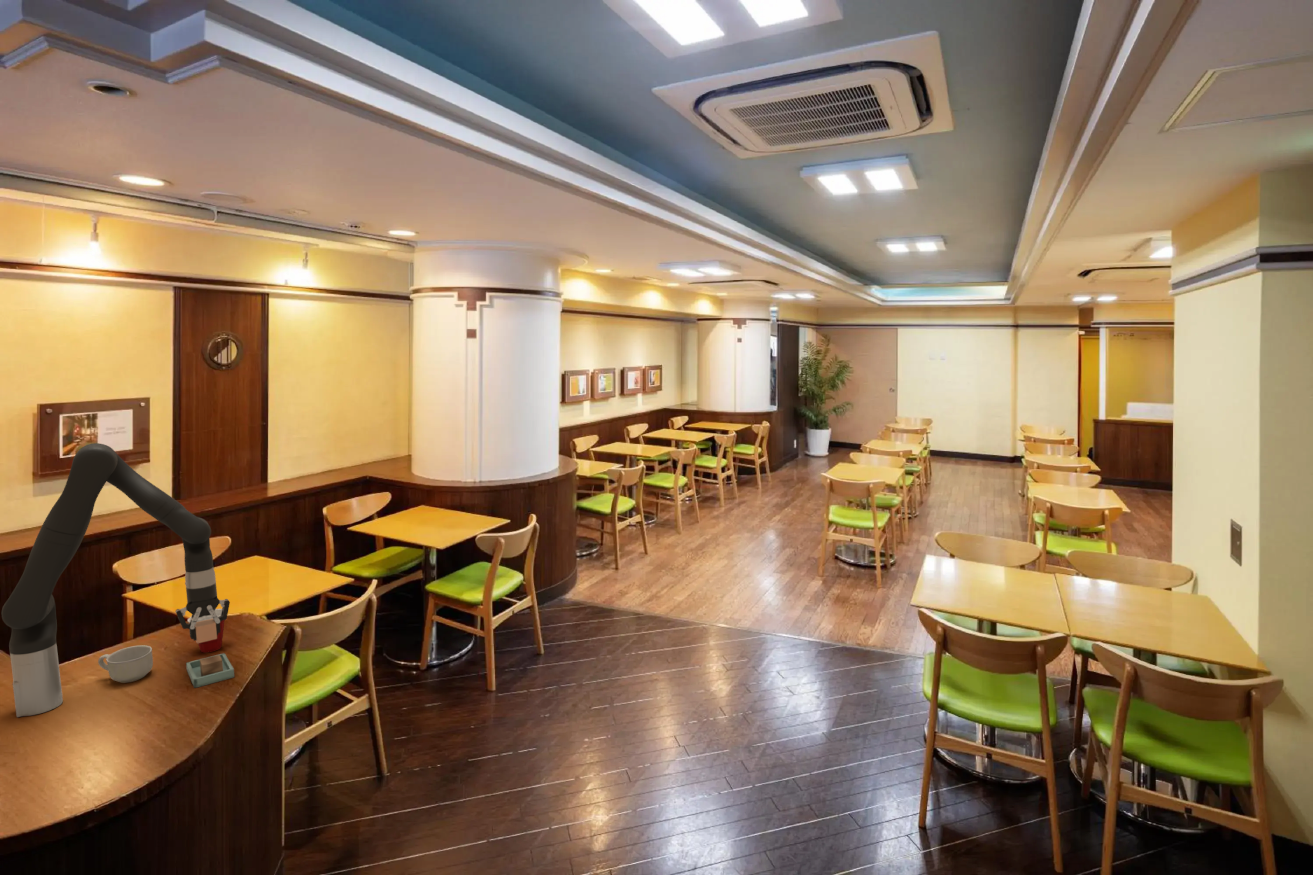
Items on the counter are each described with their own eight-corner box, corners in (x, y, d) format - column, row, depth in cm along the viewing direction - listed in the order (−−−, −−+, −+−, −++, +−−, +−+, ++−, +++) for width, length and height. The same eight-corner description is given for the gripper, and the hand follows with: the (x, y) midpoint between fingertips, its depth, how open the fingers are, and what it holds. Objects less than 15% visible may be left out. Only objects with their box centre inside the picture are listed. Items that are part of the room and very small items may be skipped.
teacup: (163, 670, 203) (161, 645, 202) (132, 687, 192) (129, 661, 191) (122, 668, 204) (119, 643, 203) (88, 685, 194) (85, 659, 193)
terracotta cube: (194, 638, 202) (193, 622, 202) (214, 633, 205) (212, 618, 205) (197, 643, 198) (195, 627, 198) (217, 638, 202) (215, 622, 201)
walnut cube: (203, 681, 194) (202, 665, 194) (201, 675, 198) (199, 659, 198) (223, 676, 198) (222, 660, 197) (220, 670, 201) (219, 654, 201)
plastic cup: (195, 645, 221) (191, 610, 220) (232, 639, 225) (229, 606, 224) (186, 658, 211) (183, 622, 210) (225, 652, 215) (222, 617, 214)
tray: (194, 687, 192) (193, 679, 191) (186, 670, 203) (186, 662, 202) (234, 676, 198) (233, 669, 198) (225, 660, 209) (224, 653, 209)
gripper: (173, 592, 192) (178, 647, 194) (231, 580, 202) (235, 634, 204) (170, 585, 198) (175, 640, 200) (226, 575, 208) (230, 627, 210)
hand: (205, 636), depth 202 cm, fingers closed on terracotta cube, 5 cm apart
